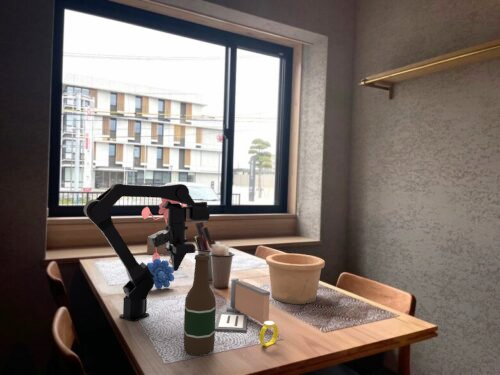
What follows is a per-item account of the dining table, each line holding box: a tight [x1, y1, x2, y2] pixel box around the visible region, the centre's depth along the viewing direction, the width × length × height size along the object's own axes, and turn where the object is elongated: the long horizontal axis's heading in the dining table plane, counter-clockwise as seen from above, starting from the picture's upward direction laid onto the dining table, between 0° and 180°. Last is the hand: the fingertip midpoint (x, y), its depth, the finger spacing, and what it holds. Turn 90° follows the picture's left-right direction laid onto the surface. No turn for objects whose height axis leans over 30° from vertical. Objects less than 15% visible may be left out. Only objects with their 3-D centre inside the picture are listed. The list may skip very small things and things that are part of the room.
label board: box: [215, 304, 248, 333], centre depth 117 cm, size 20×9×1 cm, turn 179°
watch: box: [259, 320, 279, 348], centre depth 100 cm, size 6×3×6 cm, turn 135°
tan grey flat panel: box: [229, 277, 271, 325], centre depth 118 cm, size 18×2×9 cm, turn 36°
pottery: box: [265, 253, 326, 305], centre depth 142 cm, size 22×22×14 cm
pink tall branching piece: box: [141, 198, 187, 270], centre depth 184 cm, size 15×26×35 cm, turn 132°
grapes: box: [146, 258, 175, 290], centre depth 145 cm, size 12×7×12 cm, turn 118°
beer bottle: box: [183, 253, 217, 357], centre depth 95 cm, size 8×8×24 cm
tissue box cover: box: [146, 230, 170, 256], centre depth 223 cm, size 26×14×10 cm, turn 176°
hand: (175, 270), depth 122 cm, fingers closed
